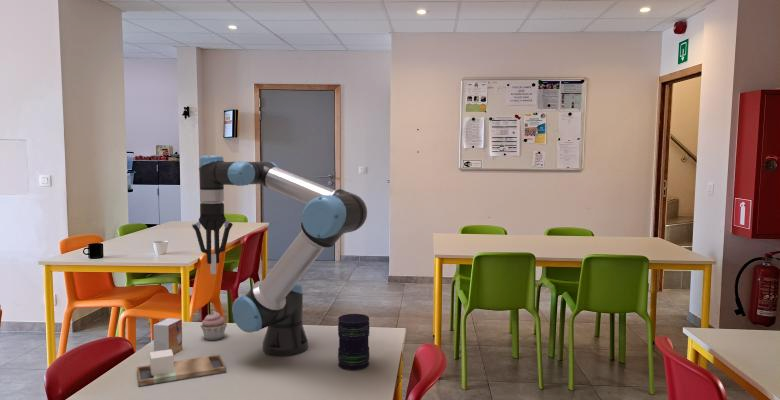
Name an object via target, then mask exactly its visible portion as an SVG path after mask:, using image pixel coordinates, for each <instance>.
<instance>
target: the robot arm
mask: <svg viewBox="0 0 780 400" xmlns="http://www.w3.org/2000/svg"><path fill="white" fill-rule="evenodd" d="M198 165H199V167H198V170H199V171H198V172H199V201H200V202H201V203H200V204H199V212H200V213H199V214H200V215H199V218H198V221H196V222H194V223H192V224H191V228H192V229H193V230H194V231H195V234H196V238H197V241H198V245H199V246H198V247H199V249H200V252H201V253H202V254H206V264H207V265H208V264H209V265H210V268H209V269H210V270H209V271H210V275H217V264H219V263H220V255H221V253H222V252H223V253H224V252H225V251H226V247H227V243H228V239H229V235H230V231H231V229H232V227H233V226H234V225H233V223H232V222H230V221H228V220H227V218H226V217H225V204H224V201H225V189H224V187H225V185H227V186H237V187H238V186H239V187H241V186H242V187H243V186H249V185H261V186H263V187H265V188H269V189H270V190H272V191H275V192H278V193H280V194H282V195H285V196H287V197H289V198H291V199H294V200H296V201H298V202H301V203H302V204H306V205H305V206H304V209H303V211H302V215H301V216H302V219H301V222H300V230H301V231H300V232H299V233H298V235H297V236H296V237H295V238H294V240H293V241H292V243H291V244H290V245H289V246H288V248H287V249H286V250H285V252H284V253H283V254H282V255H281V256H280V258H279V259H278V261H277V262H276V263H275V265H274V266H273V267H272V269H271V270H270V271H269V272H268V274H267V275H266V276H265V278H264V279H263V280H258V281H256V282H255V283H254V284H253V285H252V286H251V288H250V289H249V290H248V291H247V293H246V294H245V295H240V296H238V297H237V298H235V300H234V301H233V303H232V307H231V313H232V318H233V321H234V322H235V324H236V326H237V327H238V328H239V329H240V330H241V331H243V332H245V333H253V332H259V331H261V330H263V329H265V328H267V329H266V332H265V334H264V337H263V341H262V351H263V353H265V354H268V355H271V356H278V357H279V356H280V357H281V356H283V357H285V356H286V357H287V356H293V355H297V354H300V353H303V352H305V351H306V350H308V347H309V340H308V337H307V335H306V331H305V328H304V326H303V325H304V324H303V320H304V319H303V316H304V315H303V311H304V310H303V299H304V298H303V297H304V296H303V295H304V293H303V285H302V284H301V283H300V282H299V281H300V280H301V278H302V277H303V276H304V274H306V272H307V271H308V270H309V268H310V267H311V266H312V265H313V263H314V262H315V261H316V260H317V259H318V257H319V256H320V254H321V253H322V252H324V249H331V248H332V247H333V246H335V244H336V243H337V242H338V240H339V239H340V238H341V237H342V236H343V235H344V234H348V233H351V232H356V231H357V230H359V229H360V228H361V227H362V226H363V225H364V224H365V222H366V220H367V217H368V208H367V205H366V203H365V201H364V200H363V199H362V198H361V196H358V195H357V194H354V193H352V192H349V191H346V190H344V189H341V188H337V189H333V188H330V187H327V186H325V185H323V184H321V183H317V182H315V181H312V180H310V179H307V178H305V177H302V176H300V175H297V174H295V173H292V172H290V171H287V170H284V169H282V168H279V167H278V165H277V164H276V163H275V162H272V161H224V157H223V156H222V155H201V156H200V157H199V164H198ZM201 226H202V227H203V229H204V230H205V234H206V235H205V238H206V239H205V241H206V242H205V243H206V244H204V240H203V237H202V233H201V230H200V229H201ZM223 226H224V230H223V234H222V238H221V243H220V230H221V228H222V227H223ZM212 232H213V234H214V235H213V240H214V241H213V243H214V252H212ZM205 245H206V248H205Z"/></svg>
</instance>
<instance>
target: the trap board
mask: <svg viewBox="0 0 780 400" xmlns="http://www.w3.org/2000/svg"><path fill="white" fill-rule="evenodd" d="M225 373H226V374H227V365H226V364H225V363H224V361H223V359H222V357H221V355H220V354H217V355H216V354H213V355H207V356H203V357H201V356H200V357H195V358H188V359H182V360H175V361H174V372H171V373H165V374H159V375H151V370H150V364H149V365H143V366H136V374H137V381H138V388H140V387H147V386H154V385H160V384H165V383H170V382H177V381H178V382H179V381H182V380H189V379H195V378H202V377H209V376H213V375H214V376H215V375H219V374H220V375H221V374H225Z"/></svg>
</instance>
